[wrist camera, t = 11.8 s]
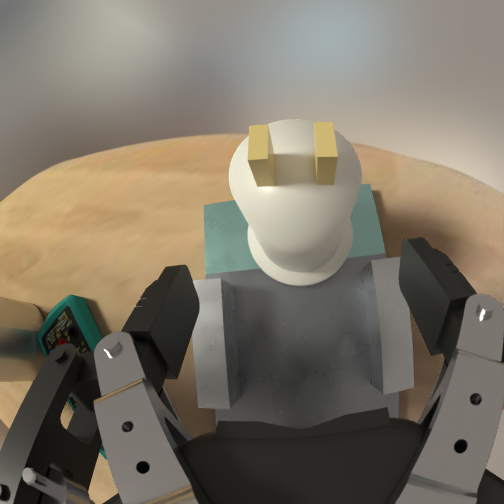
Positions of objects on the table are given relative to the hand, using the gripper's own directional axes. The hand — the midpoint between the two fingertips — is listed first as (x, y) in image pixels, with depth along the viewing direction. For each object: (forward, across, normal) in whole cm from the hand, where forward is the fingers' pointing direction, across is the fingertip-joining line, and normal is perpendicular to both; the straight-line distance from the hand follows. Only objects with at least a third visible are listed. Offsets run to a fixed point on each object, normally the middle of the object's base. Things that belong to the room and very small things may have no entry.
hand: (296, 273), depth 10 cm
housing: (+5, 0, +9) cm, 10 cm away
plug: (+10, 0, +3) cm, 10 cm away
